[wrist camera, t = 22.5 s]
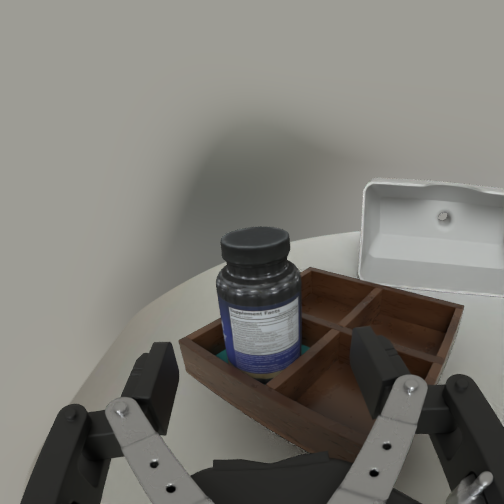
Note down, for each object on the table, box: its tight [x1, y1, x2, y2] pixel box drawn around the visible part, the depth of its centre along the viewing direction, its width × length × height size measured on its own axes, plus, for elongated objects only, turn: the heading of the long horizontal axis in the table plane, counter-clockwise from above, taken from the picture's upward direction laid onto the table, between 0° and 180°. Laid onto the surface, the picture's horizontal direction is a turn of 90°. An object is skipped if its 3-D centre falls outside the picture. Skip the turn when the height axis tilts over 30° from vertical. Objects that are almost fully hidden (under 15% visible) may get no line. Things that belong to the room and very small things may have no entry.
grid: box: [179, 267, 464, 463], centre depth 25 cm, size 18×18×4 cm
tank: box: [358, 178, 504, 297], centre depth 38 cm, size 25×16×12 cm, turn 63°
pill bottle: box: [216, 227, 302, 384], centre depth 23 cm, size 6×6×11 cm
